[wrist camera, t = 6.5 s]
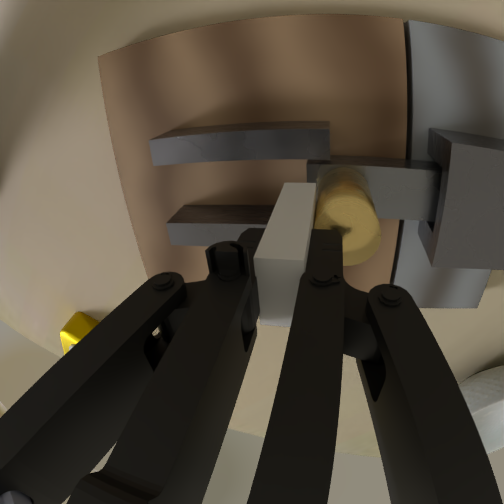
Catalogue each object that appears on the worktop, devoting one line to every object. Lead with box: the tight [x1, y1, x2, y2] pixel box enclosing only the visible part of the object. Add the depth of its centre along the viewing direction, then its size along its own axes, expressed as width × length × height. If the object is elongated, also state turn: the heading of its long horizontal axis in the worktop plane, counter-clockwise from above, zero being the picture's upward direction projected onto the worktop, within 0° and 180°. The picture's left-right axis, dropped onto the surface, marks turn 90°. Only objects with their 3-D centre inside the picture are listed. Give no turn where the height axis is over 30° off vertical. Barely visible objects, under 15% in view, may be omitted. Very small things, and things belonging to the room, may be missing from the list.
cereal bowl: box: [458, 365, 504, 454], centre depth 25 cm, size 17×17×7 cm
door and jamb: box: [98, 14, 504, 308], centre depth 20 cm, size 28×20×2 cm
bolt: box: [306, 155, 443, 266], centre depth 14 cm, size 10×3×7 cm, turn 96°
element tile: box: [60, 312, 100, 354], centre depth 39 cm, size 15×15×5 cm
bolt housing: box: [149, 121, 504, 270], centre depth 17 cm, size 22×7×4 cm, turn 96°
